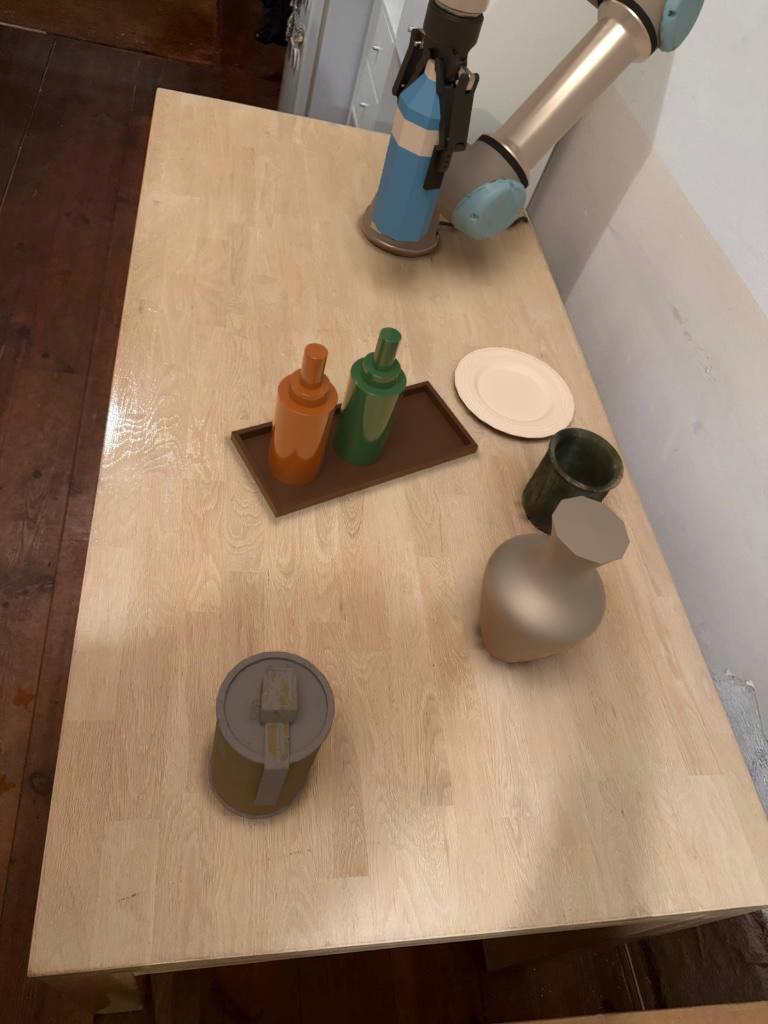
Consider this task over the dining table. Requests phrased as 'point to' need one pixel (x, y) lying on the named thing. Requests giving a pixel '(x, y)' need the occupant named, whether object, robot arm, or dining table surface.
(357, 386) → the green bottle
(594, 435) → the mug
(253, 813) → the canister
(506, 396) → the plate
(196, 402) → the dining table surface
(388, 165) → the water bottle
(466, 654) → the dining table surface
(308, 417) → the amber bottle
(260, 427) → the tray
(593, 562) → the vase
